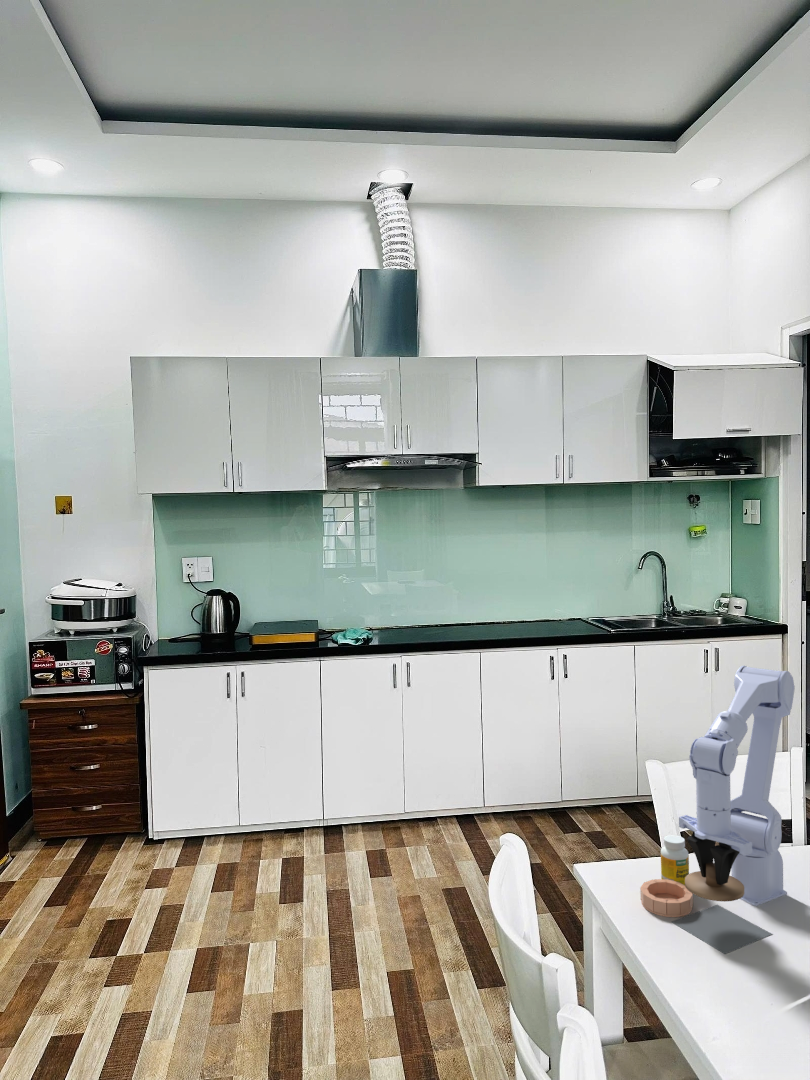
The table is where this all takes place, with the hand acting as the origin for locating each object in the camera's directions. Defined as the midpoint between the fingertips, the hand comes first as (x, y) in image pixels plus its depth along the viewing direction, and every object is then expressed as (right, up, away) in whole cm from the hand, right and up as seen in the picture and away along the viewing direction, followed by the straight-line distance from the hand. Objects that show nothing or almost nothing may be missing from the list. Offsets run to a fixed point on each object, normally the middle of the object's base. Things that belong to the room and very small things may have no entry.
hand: (714, 879), depth 143 cm
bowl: (-6, -9, +8) cm, 13 cm away
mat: (+1, -9, 0) cm, 9 cm away
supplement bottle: (-2, -8, +16) cm, 18 cm away
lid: (0, -2, 0) cm, 2 cm away
